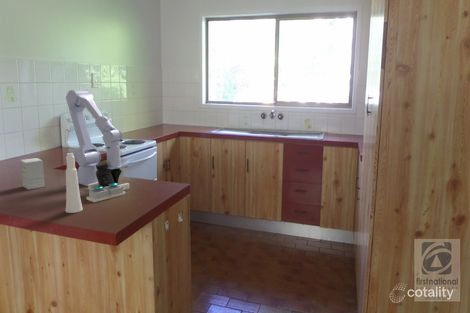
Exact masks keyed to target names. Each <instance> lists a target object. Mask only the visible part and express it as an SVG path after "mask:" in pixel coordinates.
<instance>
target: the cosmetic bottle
mask: <svg viewBox="0 0 470 313" xmlns="http://www.w3.org/2000/svg"><path fill="white" fill-rule="evenodd" d="M65 159H66V160H65V161H66V169H65V188H66V190H65V191H66V193H65V194H66V196H65V197H66V198H65V201H66V204H65V212H66V213H68V214H75V213H79V212H82V211H83V210H84V209H83V205H82V200H81V194H80V187H79V186H80V185H79V183H78V181H79V178H78V169H77V168H76V162H75V161H76V160H75V155H74V152H67V153H66V156H65Z"/></svg>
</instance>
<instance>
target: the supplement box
mask: <svg viewBox="0 0 470 313" xmlns="http://www.w3.org/2000/svg"><path fill="white" fill-rule="evenodd" d="M43 163H44V162H43V160H42V159H40V158H38V157H35V158H26V159H20V169H21V179H22V187H23V188H25V189H27V191H28V190H33V189H39V188H44V187H45V185H46V184H45V174H44V164H43Z"/></svg>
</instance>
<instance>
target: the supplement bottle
mask: <svg viewBox="0 0 470 313" xmlns="http://www.w3.org/2000/svg"><path fill="white" fill-rule="evenodd" d="M108 168H109V167H108V164H107V161H99V163H98V164H96V169H97V171H96V177H97V180H98V184H99V186H103V189H104V187H107V186H109V184H110V183H115V181H114V178H113V174H112V171H111V169H108Z"/></svg>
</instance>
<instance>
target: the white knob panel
mask: <svg viewBox="0 0 470 313" xmlns="http://www.w3.org/2000/svg"><path fill="white" fill-rule="evenodd" d="M95 186H99V184H98V182H96V183H92V184H88V186H87V187H88V196H86V200H87V201H89V202H92V203H96V202H97V203H98V202H102V201H104V200H109V199H113V198H117V197H120V196H124V195H126V194H127V192H126V190H130V183H129V182H125V183H121V184H118V185H117V188H114V189H111V188H110V186H107V187H104V189H102V191H101V192H95V189H94V187H95Z"/></svg>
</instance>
